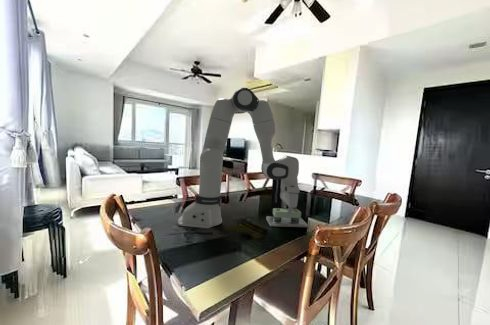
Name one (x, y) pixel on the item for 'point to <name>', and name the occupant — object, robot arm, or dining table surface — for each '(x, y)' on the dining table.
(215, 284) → the dining table surface
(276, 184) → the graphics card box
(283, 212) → the board
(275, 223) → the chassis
